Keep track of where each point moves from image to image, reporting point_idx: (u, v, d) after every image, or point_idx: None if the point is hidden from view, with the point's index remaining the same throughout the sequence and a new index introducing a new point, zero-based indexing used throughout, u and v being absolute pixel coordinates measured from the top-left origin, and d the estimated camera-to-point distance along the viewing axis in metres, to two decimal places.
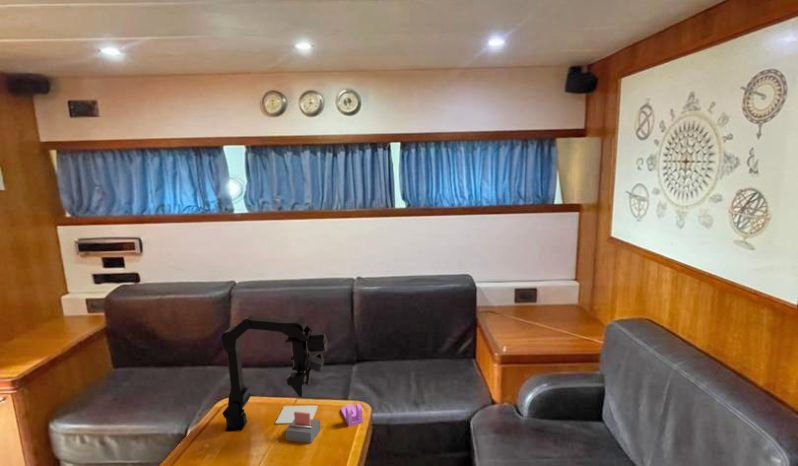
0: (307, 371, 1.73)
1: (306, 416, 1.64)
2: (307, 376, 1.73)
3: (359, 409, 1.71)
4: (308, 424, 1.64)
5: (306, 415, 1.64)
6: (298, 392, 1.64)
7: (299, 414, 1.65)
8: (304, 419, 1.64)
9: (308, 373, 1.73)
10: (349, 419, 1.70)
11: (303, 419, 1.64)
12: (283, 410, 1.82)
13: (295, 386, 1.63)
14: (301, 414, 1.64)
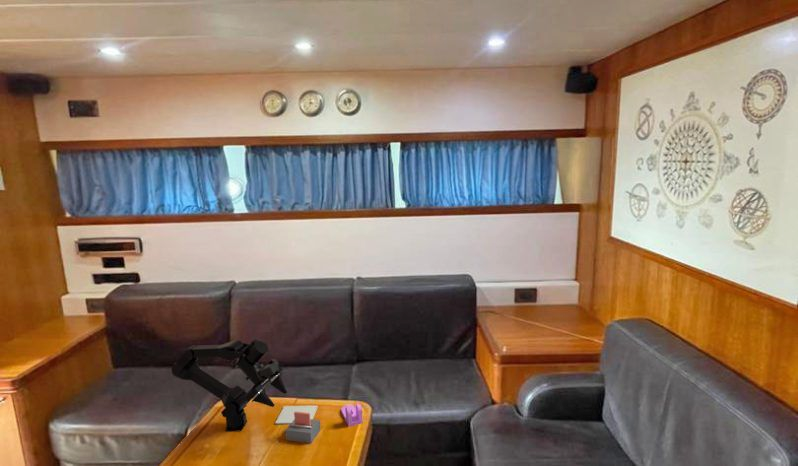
0: (278, 381, 1.71)
1: (306, 416, 1.64)
2: (281, 386, 1.71)
3: (359, 409, 1.71)
4: (308, 424, 1.64)
5: (306, 415, 1.64)
6: (267, 403, 1.61)
7: (299, 414, 1.65)
8: (304, 419, 1.64)
9: (279, 383, 1.71)
10: (349, 419, 1.70)
11: (303, 419, 1.64)
12: (283, 410, 1.82)
13: (260, 399, 1.61)
14: (301, 414, 1.64)
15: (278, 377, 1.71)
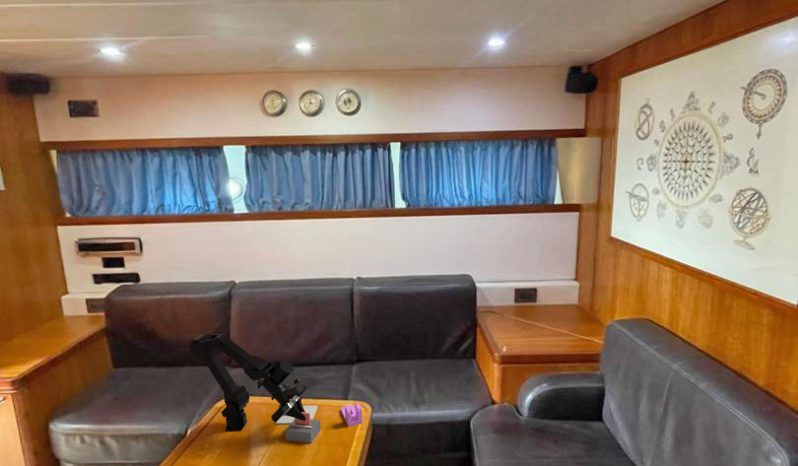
0: (298, 406, 1.66)
1: (306, 416, 1.64)
2: (301, 411, 1.65)
3: (358, 409, 1.71)
4: (308, 424, 1.64)
5: (306, 415, 1.64)
6: (299, 417, 1.64)
7: None
8: None
9: (300, 407, 1.65)
10: (348, 419, 1.70)
11: None
12: None
13: (292, 414, 1.63)
14: None
15: (298, 402, 1.65)
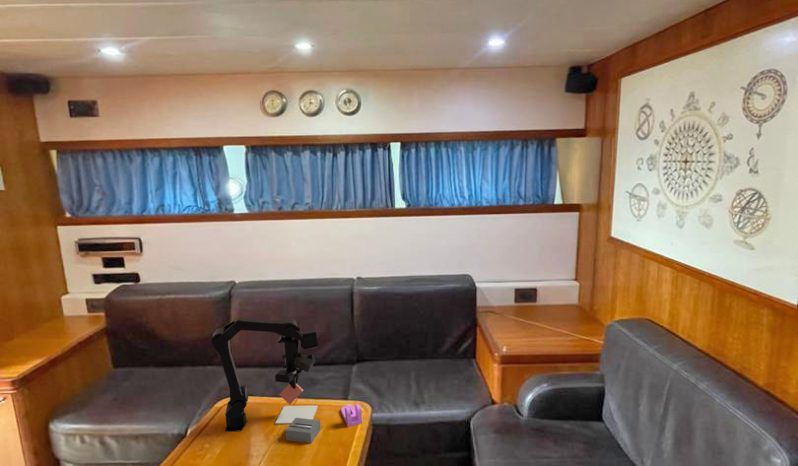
0: None
1: (299, 391, 1.76)
2: (295, 379, 1.77)
3: (358, 409, 1.71)
4: (295, 396, 1.77)
5: (299, 390, 1.76)
6: (291, 384, 1.76)
7: None
8: (296, 391, 1.77)
9: (297, 376, 1.77)
10: (348, 419, 1.70)
11: (295, 391, 1.77)
12: (283, 410, 1.82)
13: None
14: (296, 386, 1.76)
15: (299, 372, 1.77)
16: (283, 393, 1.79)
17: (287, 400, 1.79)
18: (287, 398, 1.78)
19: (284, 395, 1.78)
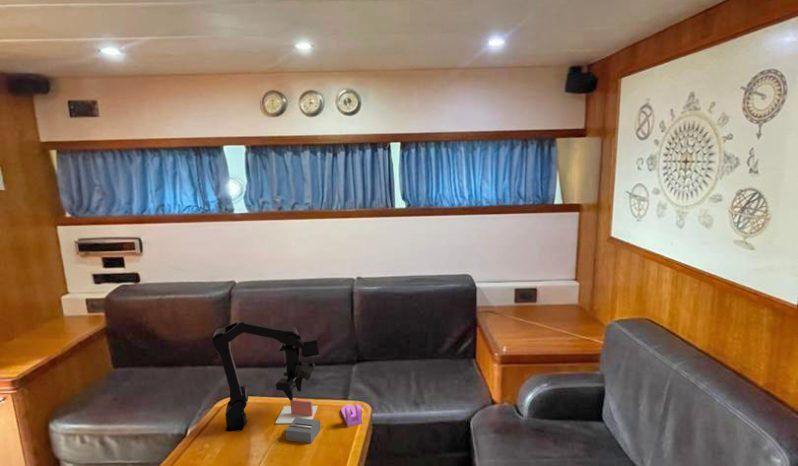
0: (300, 379, 1.80)
1: (309, 413, 1.77)
2: (299, 383, 1.80)
3: (358, 409, 1.71)
4: (302, 414, 1.78)
5: (310, 413, 1.77)
6: (288, 396, 1.73)
7: (310, 407, 1.76)
8: (306, 411, 1.77)
9: (301, 381, 1.80)
10: (348, 419, 1.70)
11: (306, 410, 1.77)
12: (283, 410, 1.82)
13: None
14: (310, 409, 1.77)
15: None
16: (294, 402, 1.78)
17: (292, 409, 1.79)
18: (294, 408, 1.78)
19: (293, 404, 1.78)
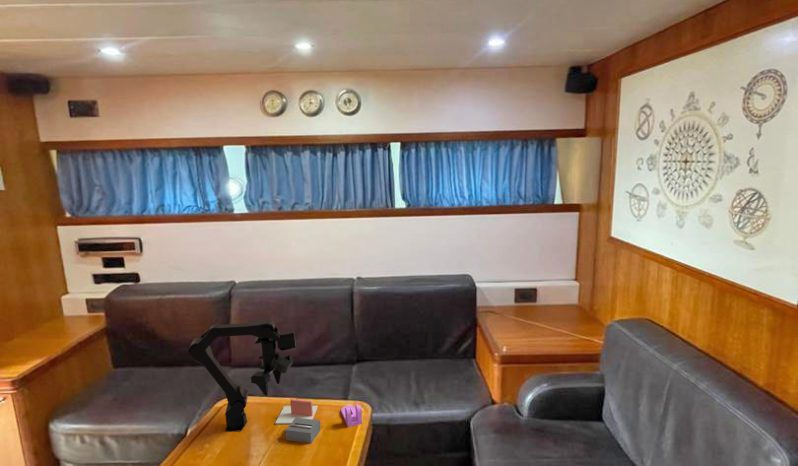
0: (279, 371, 1.78)
1: (309, 413, 1.77)
2: (278, 376, 1.78)
3: (358, 410, 1.71)
4: (302, 414, 1.78)
5: (310, 413, 1.77)
6: (263, 391, 1.69)
7: (310, 407, 1.76)
8: (306, 411, 1.77)
9: (279, 373, 1.78)
10: (348, 419, 1.70)
11: (306, 410, 1.77)
12: (283, 410, 1.82)
13: (260, 385, 1.68)
14: (310, 409, 1.77)
15: None
16: (294, 402, 1.78)
17: (292, 409, 1.79)
18: (294, 408, 1.78)
19: (293, 404, 1.78)
